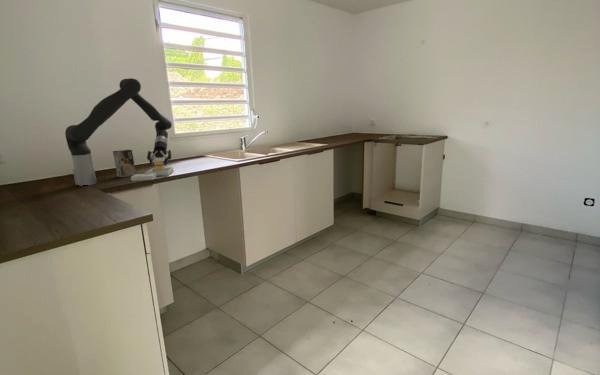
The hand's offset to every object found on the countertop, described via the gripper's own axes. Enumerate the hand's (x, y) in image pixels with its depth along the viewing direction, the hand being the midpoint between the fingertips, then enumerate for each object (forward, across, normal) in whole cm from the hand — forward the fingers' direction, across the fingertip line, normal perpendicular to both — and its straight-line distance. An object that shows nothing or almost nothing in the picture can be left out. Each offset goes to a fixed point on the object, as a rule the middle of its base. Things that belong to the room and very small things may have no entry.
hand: (158, 164), depth 203 cm
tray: (+4, 0, +6) cm, 7 cm away
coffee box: (+2, -21, +7) cm, 22 cm away
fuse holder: (+12, -6, -3) cm, 14 cm away
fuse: (+3, 0, +5) cm, 6 cm away
